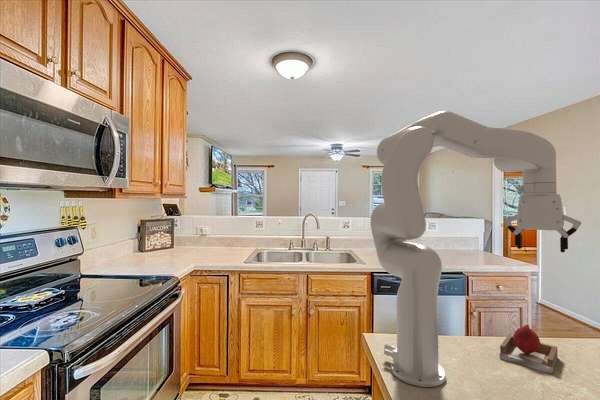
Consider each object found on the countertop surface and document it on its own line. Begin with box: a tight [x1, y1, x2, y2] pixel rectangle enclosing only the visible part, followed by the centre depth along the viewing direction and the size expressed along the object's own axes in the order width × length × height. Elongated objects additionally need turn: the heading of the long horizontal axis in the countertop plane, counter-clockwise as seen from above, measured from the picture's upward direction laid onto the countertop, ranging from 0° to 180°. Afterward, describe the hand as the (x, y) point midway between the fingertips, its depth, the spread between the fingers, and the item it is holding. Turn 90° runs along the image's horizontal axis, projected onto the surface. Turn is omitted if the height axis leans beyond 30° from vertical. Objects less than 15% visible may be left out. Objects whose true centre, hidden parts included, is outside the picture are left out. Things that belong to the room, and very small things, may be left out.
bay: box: [499, 334, 559, 375], centre depth 82 cm, size 11×11×3 cm
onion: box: [512, 323, 541, 354], centre depth 82 cm, size 6×6×8 cm
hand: (540, 250), depth 86 cm, fingers open, 9 cm apart
